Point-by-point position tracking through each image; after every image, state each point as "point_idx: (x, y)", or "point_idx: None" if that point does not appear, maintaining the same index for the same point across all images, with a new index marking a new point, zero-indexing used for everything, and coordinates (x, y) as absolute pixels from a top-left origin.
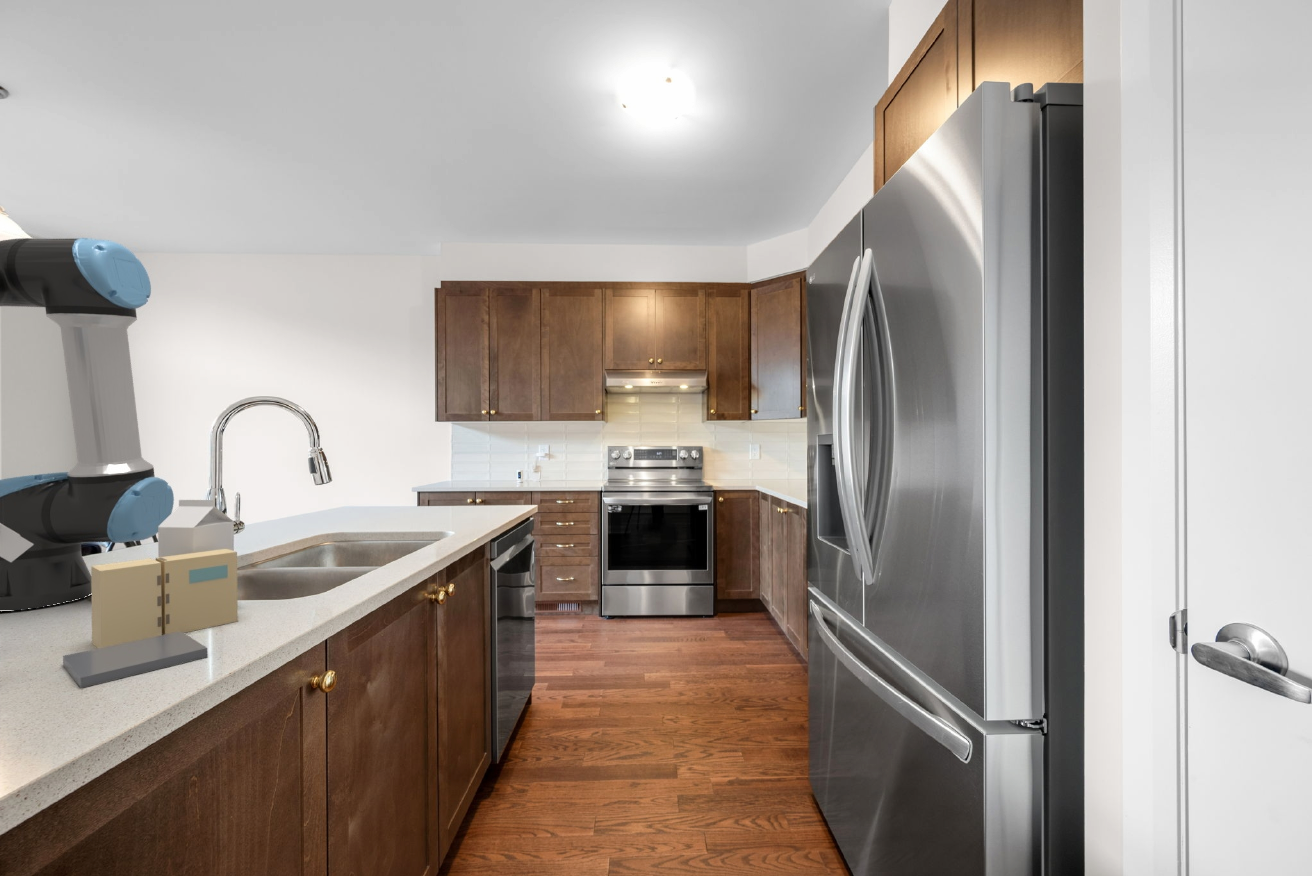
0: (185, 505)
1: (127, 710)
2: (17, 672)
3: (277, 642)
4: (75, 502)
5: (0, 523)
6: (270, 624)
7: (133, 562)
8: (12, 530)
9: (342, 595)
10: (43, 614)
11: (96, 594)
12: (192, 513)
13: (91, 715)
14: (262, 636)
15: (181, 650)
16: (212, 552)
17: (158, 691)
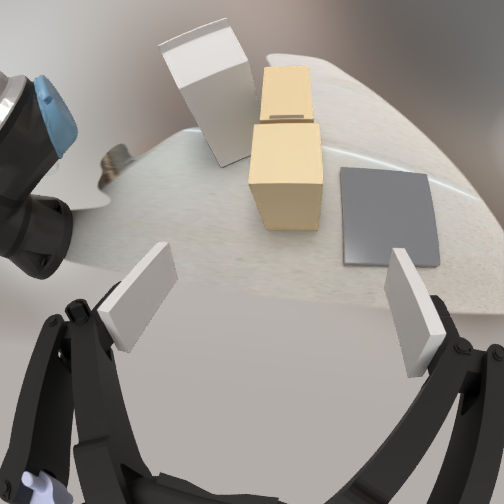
0: (174, 46)
1: (499, 254)
2: (329, 298)
3: (417, 135)
4: (9, 165)
5: (149, 265)
6: (350, 115)
7: (275, 142)
8: (160, 250)
9: (289, 61)
10: (90, 242)
11: (293, 202)
12: (207, 47)
13: (494, 272)
14: (389, 132)
15: (418, 188)
16: (283, 78)
17: (479, 229)
